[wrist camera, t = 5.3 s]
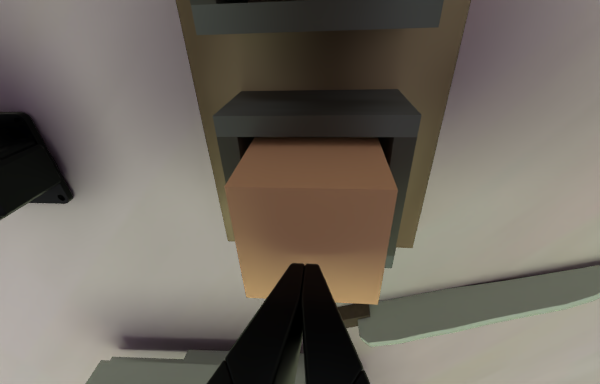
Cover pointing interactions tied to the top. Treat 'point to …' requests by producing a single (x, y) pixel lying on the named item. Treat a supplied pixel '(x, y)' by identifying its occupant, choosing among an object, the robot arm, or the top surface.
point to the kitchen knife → (470, 306)
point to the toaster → (168, 369)
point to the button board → (326, 81)
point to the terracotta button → (313, 213)
